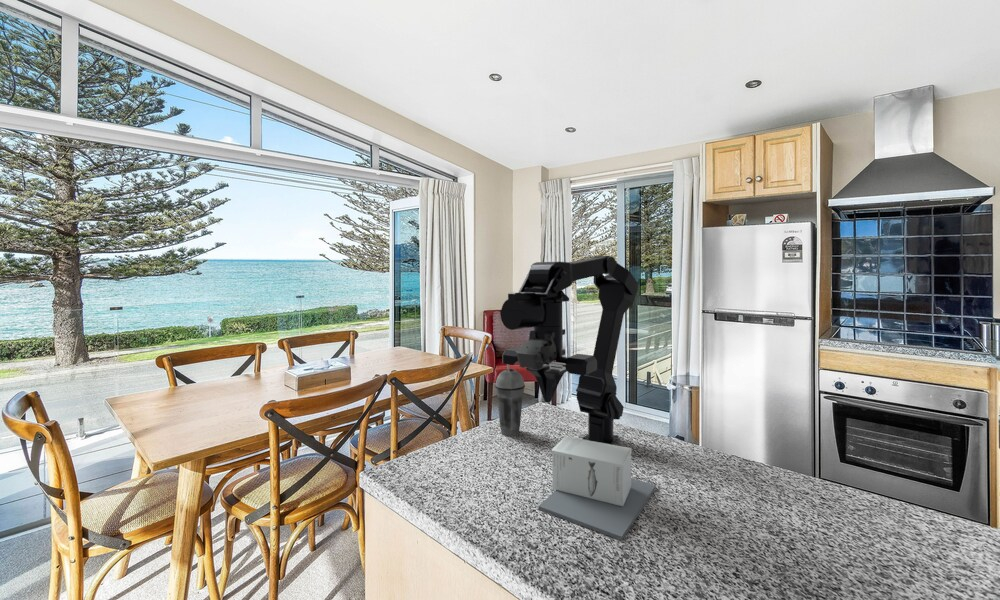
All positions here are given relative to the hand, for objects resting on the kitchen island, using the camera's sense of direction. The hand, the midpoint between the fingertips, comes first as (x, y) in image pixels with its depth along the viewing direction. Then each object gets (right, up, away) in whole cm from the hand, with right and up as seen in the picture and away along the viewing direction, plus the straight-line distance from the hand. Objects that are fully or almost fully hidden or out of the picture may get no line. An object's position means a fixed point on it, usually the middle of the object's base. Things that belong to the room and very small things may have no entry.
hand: (547, 402), depth 84 cm
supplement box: (+1, -9, -7) cm, 12 cm away
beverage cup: (-7, -12, +18) cm, 23 cm away
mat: (+8, -14, -12) cm, 20 cm away
